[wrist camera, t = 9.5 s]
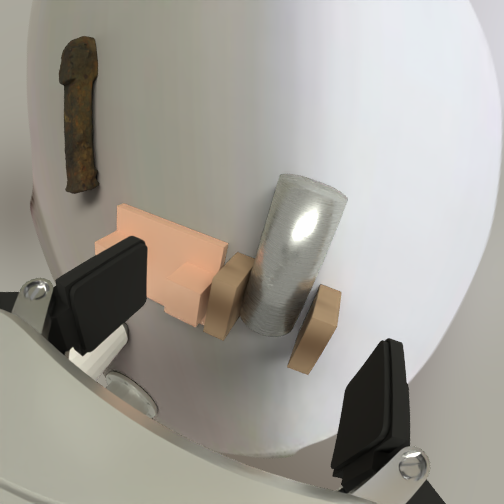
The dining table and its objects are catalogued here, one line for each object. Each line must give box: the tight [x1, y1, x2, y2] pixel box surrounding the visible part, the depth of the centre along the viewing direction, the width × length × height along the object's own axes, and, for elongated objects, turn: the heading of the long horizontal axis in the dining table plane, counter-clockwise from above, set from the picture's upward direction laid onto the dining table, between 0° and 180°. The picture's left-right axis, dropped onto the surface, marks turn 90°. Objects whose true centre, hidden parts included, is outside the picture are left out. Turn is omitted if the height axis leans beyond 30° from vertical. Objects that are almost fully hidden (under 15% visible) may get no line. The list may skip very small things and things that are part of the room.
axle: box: [240, 174, 348, 337], centre depth 22 cm, size 12×5×5 cm, turn 165°
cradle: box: [95, 203, 228, 327], centre depth 27 cm, size 10×13×4 cm
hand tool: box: [59, 36, 99, 194], centre depth 23 cm, size 19×4×5 cm, turn 176°
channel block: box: [203, 252, 341, 375], centre depth 24 cm, size 6×10×5 cm, turn 76°
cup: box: [69, 323, 128, 381], centre depth 33 cm, size 10×10×13 cm
